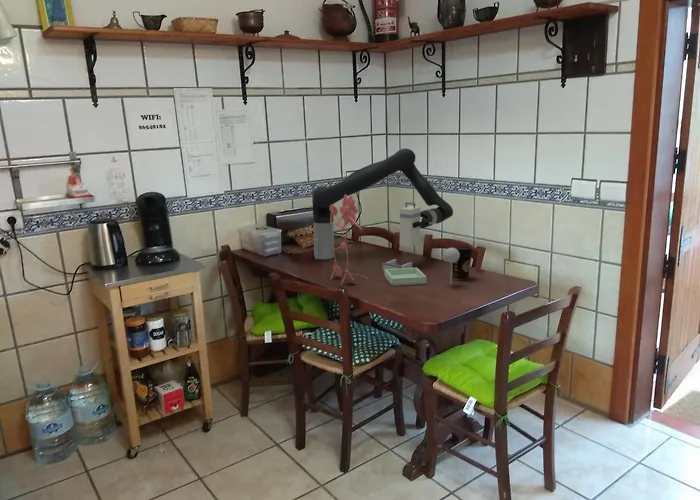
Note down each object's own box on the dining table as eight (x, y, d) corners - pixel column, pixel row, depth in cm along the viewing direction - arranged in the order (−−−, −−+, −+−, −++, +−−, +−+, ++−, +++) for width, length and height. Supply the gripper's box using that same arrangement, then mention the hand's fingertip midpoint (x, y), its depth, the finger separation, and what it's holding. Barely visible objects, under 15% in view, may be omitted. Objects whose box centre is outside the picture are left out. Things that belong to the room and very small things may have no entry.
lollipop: (449, 288, 211) (450, 250, 207) (439, 284, 216) (440, 247, 212) (461, 285, 213) (463, 248, 210) (452, 281, 218) (453, 245, 215)
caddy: (410, 246, 233) (411, 204, 229) (399, 245, 236) (399, 203, 232) (419, 243, 239) (420, 202, 235) (408, 241, 243) (409, 201, 238)
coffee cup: (472, 276, 226) (474, 245, 223) (470, 282, 218) (471, 250, 215) (451, 274, 228) (452, 244, 225) (448, 280, 221) (449, 249, 218)
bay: (400, 274, 230) (400, 266, 229) (382, 270, 236) (382, 263, 235) (412, 268, 238) (412, 261, 237) (394, 265, 244) (394, 258, 243)
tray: (392, 286, 214) (392, 278, 213) (384, 276, 228) (384, 269, 227) (426, 284, 216) (426, 276, 215) (416, 274, 230) (417, 267, 229)
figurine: (349, 291, 209) (350, 199, 201) (319, 275, 231) (319, 192, 223) (383, 285, 216) (385, 197, 208) (351, 270, 238) (351, 190, 230)
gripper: (411, 209, 250) (392, 214, 237) (440, 211, 242) (422, 217, 229) (411, 225, 252) (392, 231, 238) (439, 228, 244) (421, 235, 230)
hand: (407, 224), depth 234 cm, fingers closed on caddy, 5 cm apart
